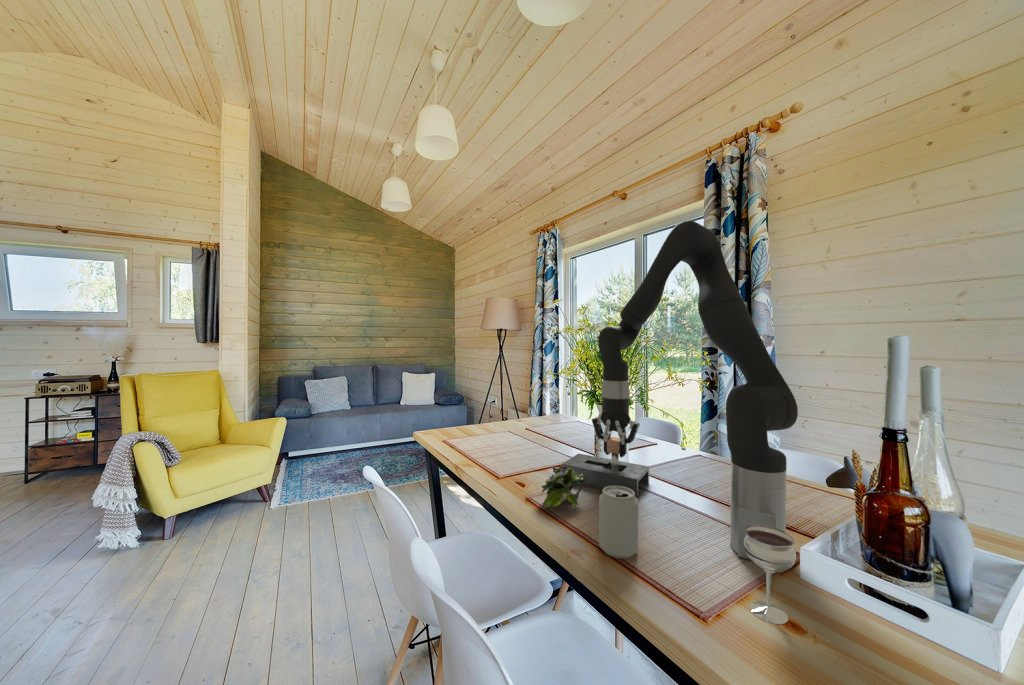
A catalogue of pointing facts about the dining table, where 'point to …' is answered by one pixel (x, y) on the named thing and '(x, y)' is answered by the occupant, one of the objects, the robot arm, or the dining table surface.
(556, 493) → the leafy green plant
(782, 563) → the wineglass
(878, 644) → the dining table surface
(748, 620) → the dining table surface
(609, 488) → the can
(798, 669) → the dining table surface
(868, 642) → the dining table surface
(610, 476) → the keyhole plate
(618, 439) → the peg
